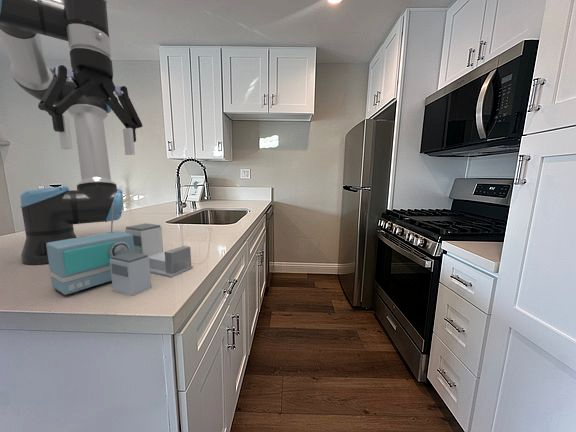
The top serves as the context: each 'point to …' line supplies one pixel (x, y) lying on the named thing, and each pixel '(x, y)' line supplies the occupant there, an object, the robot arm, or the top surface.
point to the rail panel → (160, 267)
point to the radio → (85, 259)
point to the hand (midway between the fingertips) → (101, 152)
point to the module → (130, 273)
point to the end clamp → (176, 258)
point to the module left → (146, 238)
